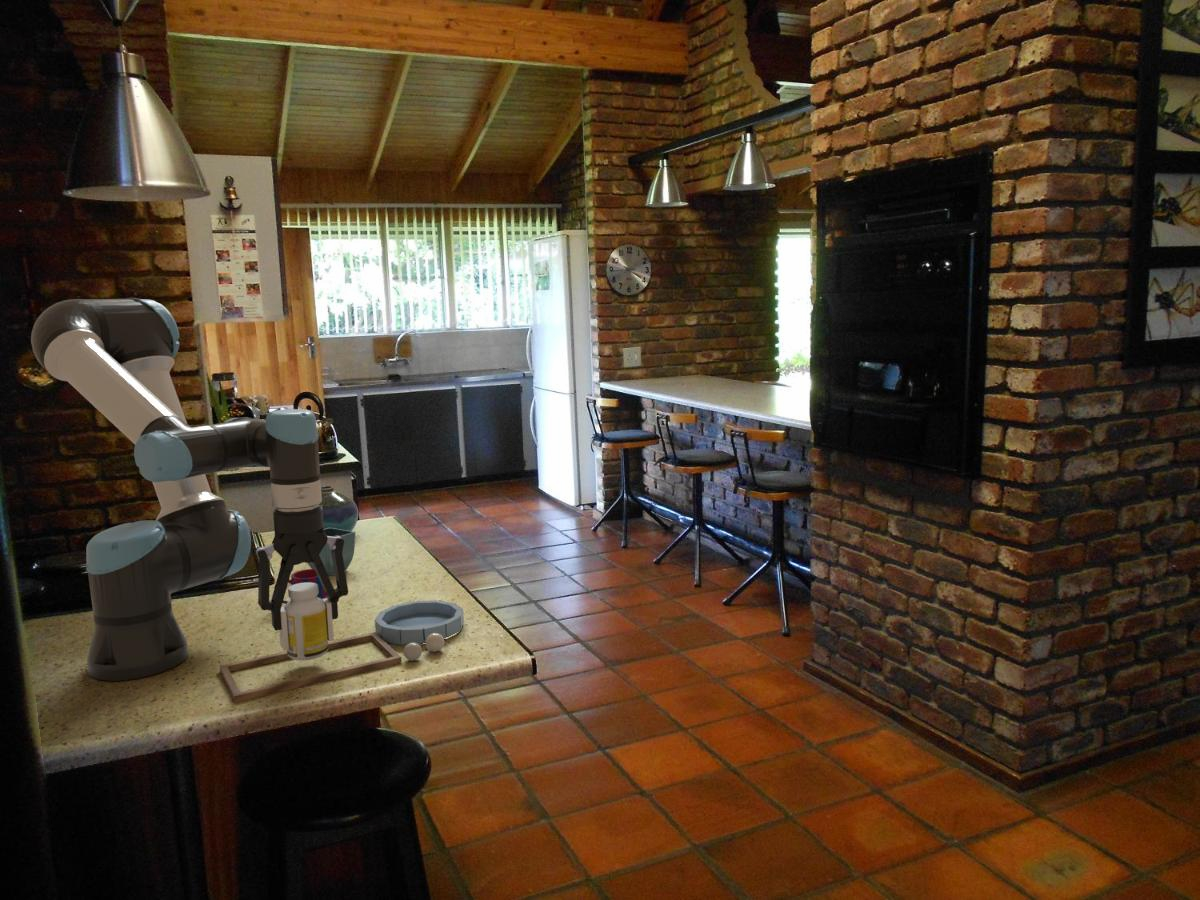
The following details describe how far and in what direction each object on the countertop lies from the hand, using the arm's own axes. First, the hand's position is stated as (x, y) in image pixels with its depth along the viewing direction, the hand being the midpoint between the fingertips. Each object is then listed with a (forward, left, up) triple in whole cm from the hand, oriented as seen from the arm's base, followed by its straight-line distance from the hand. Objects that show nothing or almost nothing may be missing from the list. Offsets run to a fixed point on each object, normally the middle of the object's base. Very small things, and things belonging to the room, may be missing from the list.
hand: (307, 642), depth 146 cm
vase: (+25, +84, -4) cm, 88 cm away
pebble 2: (+20, -6, -4) cm, 21 cm away
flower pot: (+17, +52, -4) cm, 55 cm away
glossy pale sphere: (+15, -8, -4) cm, 18 cm away
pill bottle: (0, 0, -2) cm, 2 cm away
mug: (+6, +31, -4) cm, 32 cm away
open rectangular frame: (0, -1, -4) cm, 4 cm away
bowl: (+21, +5, -4) cm, 22 cm away
